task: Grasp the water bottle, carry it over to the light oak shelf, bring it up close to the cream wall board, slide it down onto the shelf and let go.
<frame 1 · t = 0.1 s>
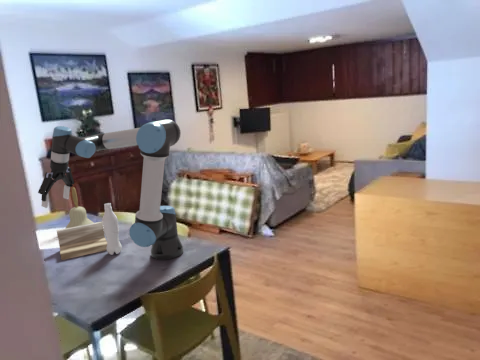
hand: (55, 202, 192), 28 cm above the table, tool tilted 20°, fingers open, 13 cm apart
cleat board: (84, 250, 206), on the table
handbell: (80, 228, 241), on the table
water bottle: (114, 253, 200), on the table
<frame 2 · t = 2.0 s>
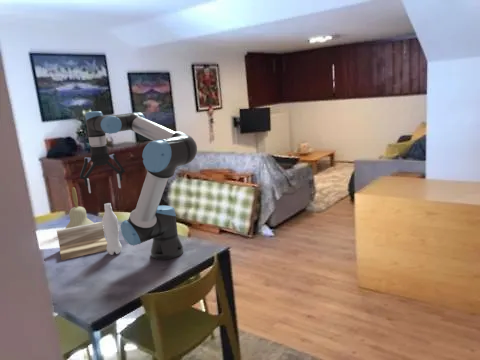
hand: (105, 190, 193), 32 cm above the table, tool pointing down, fingers open, 13 cm apart
nothing on the table moved.
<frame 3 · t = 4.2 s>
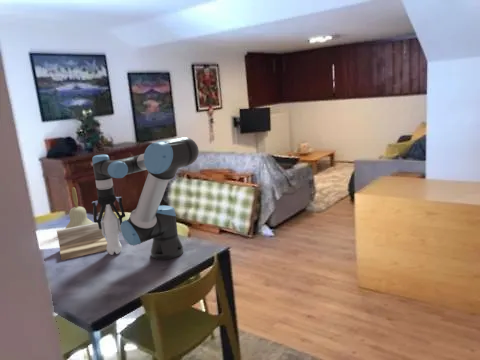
hand: (111, 233, 198), 10 cm above the table, tool pointing down, fingers closed on water bottle, 7 cm apart
water bottle: (114, 253, 200), on the table, touching gripper
everything else where it was.
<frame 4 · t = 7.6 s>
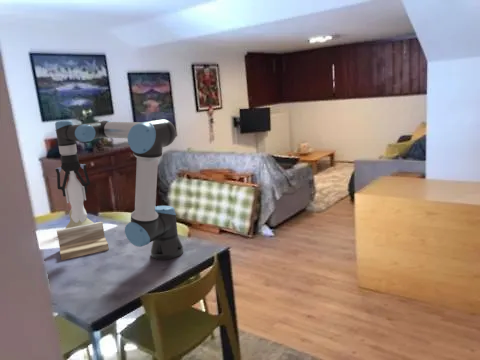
hand: (76, 201, 196), 27 cm above the table, tool pointing down, fingers closed on water bottle, 7 cm apart
water bottle: (80, 221, 198), point 17 cm above the table, touching gripper
everything else where it was.
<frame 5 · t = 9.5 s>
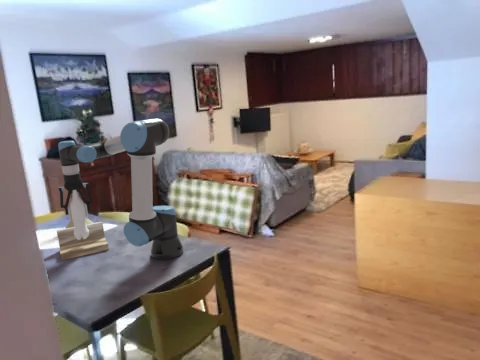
hand: (79, 218, 201), 17 cm above the table, tool pointing down, fingers closed on water bottle, 7 cm apart
water bottle: (82, 238, 203), point 7 cm above the table, touching gripper
everything else where it was.
when the fingers open (15 cm above the table, at t = 10.9 s): water bottle drops 1 cm, resting on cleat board.
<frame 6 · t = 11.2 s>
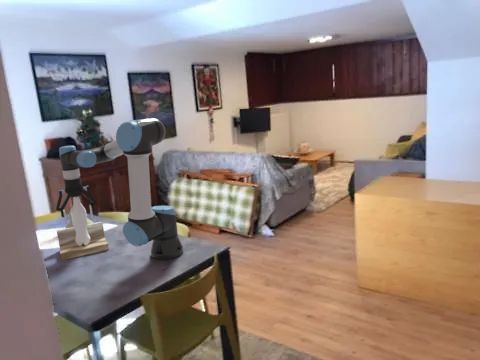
hand: (79, 220, 203), 16 cm above the table, tool pointing down, fingers open, 11 cm apart
water bottle: (83, 244, 206), point 3 cm above the table, touching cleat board
everything else where it was.
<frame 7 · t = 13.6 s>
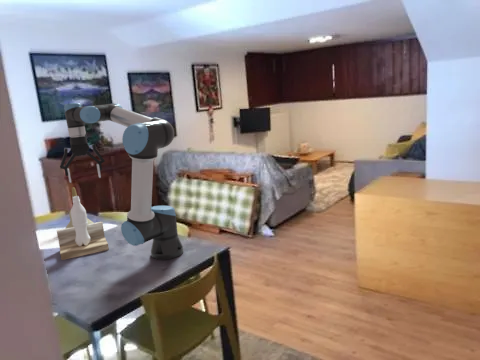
hand: (85, 179, 199), 36 cm above the table, tool pointing down, fingers open, 13 cm apart
nothing on the table moved.
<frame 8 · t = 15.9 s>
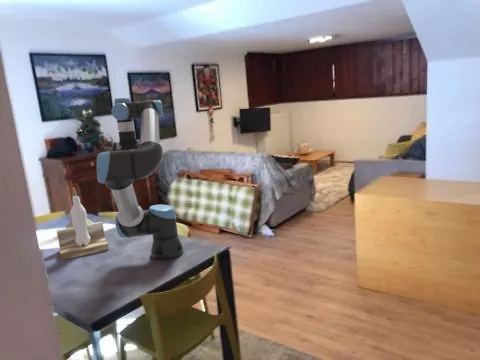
hand: (132, 173, 201), 37 cm above the table, tool pointing down, fingers open, 13 cm apart
nothing on the table moved.
at the end: water bottle inside the target area (0.1 cm from its centre), point 2.8 cm above the table; water bottle tilted 0°; the gripper is holding nothing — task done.
